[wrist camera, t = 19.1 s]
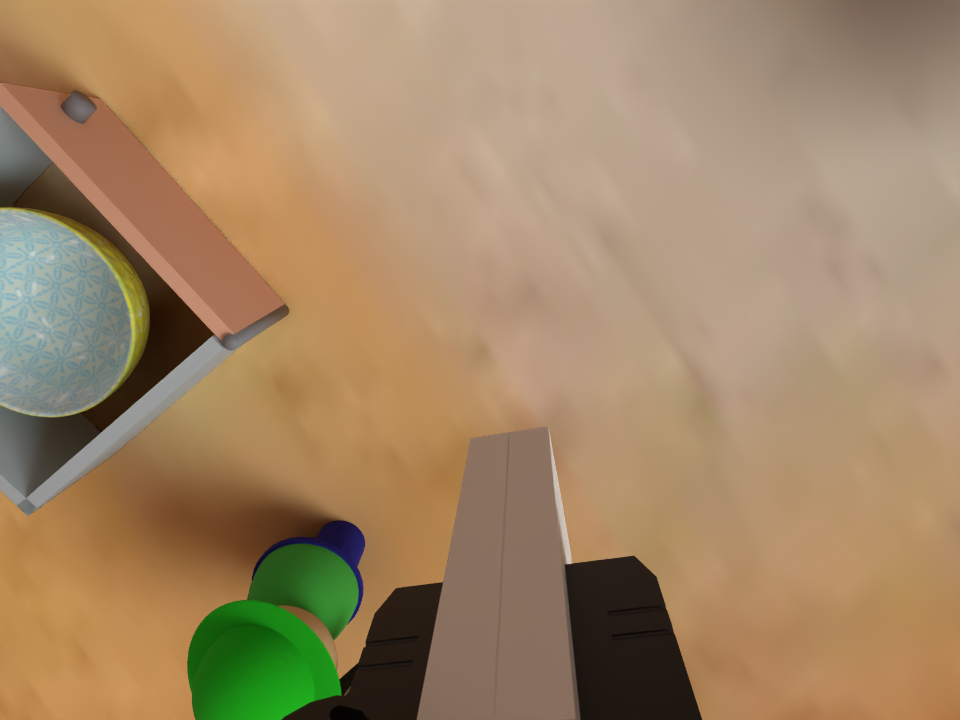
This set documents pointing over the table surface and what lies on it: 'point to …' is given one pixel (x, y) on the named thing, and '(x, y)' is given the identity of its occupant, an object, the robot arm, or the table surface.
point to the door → (147, 209)
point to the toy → (280, 631)
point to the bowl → (65, 314)
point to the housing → (73, 439)
